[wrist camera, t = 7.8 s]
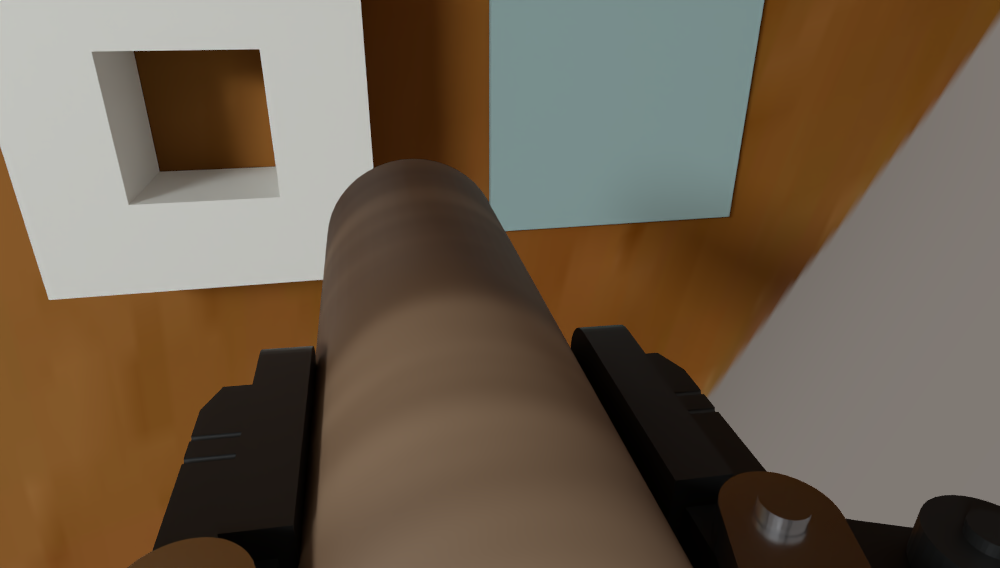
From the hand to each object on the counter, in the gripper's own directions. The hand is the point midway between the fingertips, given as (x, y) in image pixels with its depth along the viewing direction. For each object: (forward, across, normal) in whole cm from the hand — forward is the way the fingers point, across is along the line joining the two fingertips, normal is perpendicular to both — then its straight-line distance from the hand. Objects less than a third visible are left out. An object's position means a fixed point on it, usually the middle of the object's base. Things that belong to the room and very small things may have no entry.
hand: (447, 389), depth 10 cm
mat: (+25, -12, 0) cm, 28 cm away
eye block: (+25, +8, 0) cm, 26 cm away
